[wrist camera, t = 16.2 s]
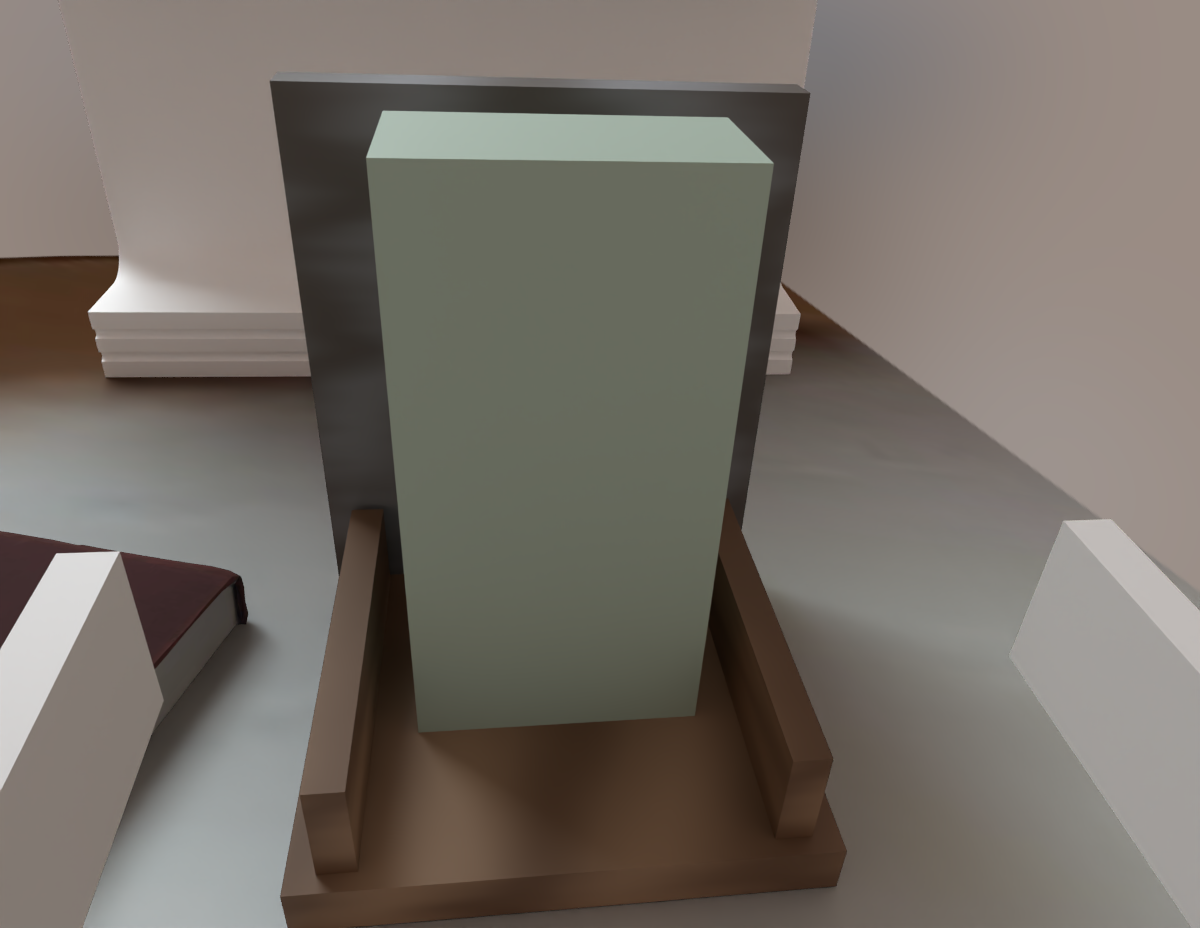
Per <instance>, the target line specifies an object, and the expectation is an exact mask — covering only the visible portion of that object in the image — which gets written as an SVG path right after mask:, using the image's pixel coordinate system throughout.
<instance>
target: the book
mask: <svg viewBox="0 0 1200 928" xmlns="http://www.w3.org/2000/svg"><path fill="white" fill-rule="evenodd" d="M87 552H118V551H113V550H107V549H101V548H96V547H91V546H85V545H74V544H70V543H65V542H60V541H55V540H50V539H44V538H38V537H32V536H26V535H21V534H15V533H9V532H1V531H0V649H1V647H2V645H3V644H4V642H5V640H6V639H7V637H8V635H9V633H10V632H11V630H12V628H13V627H14V625H15V623H16V622H17V620H18V618H19V616H20V615H21V613H22V611H23V610H24V608H25V606H26V604H27V603H28V601H29V599H30V598H31V596H32V594H33V592H34V591H35V589H36V587H37V586H38V584H39V582H40V581H41V579H42V577H43V575H44V574H45V572H46V570H47V569H48V567H49V565H50V563H51V562H52V560H53V558H54V557H55V555H56V553H87ZM120 554H121V558H122V561H123V565H124V568H125V571H126V575H127V578H128V581H129V585H130V588H131V592H132V595H133V598H134V602H135V605H136V608H137V612H138V615H139V619H140V622H141V625H142V629H143V632H144V635H145V639H146V642H147V646H148V649H149V652H150V656H151V659H152V662H153V666H154V669H155V673H156V676H157V679H158V683H159V686H160V689H161V693H162V696H163V700H164V701H163V704H162V706H161V709H160V712H159V715H158V718H157V720H156V723H155V726H154V729H153V732H154V731H155V729H156V728H157V727H158V726H159V724H160V723H161V722H162V720H163V719H164V718H165V716H166V715H167V714H168V713H169V711H170V710H171V709H172V707H173V706H174V705H175V703H176V702H177V701H178V700H179V698H180V697H181V696H182V694H183V693H184V692H185V690H186V689H187V688H188V686H189V685H190V684H191V682H192V681H193V680H194V679H195V677H196V676H197V675H198V673H199V672H200V671H201V669H202V668H203V667H204V665H205V664H206V663H207V661H208V660H209V659H210V658H211V656H212V655H213V654H214V652H215V651H216V650H217V648H218V647H219V646H220V644H221V643H222V642H223V640H224V639H225V638H226V637H227V635H228V634H229V633H230V632H231V630H232V629H233V628H234V626H235V625H237V624H246V622H247V617H248V611H247V607H246V603H245V594H244V585H243V582H242V578H241V576H239V575H237V574H235V573H233V572H231V571H229V570H225V569H221V568H216V567H212V566H206V565H199V564H191V563H185V562H179V561H172V560H166V559H160V558H154V557H148V556H142V555H136V554H130V553H124V552H120ZM153 732H152V733H153ZM151 735H152V734H151Z"/></svg>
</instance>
